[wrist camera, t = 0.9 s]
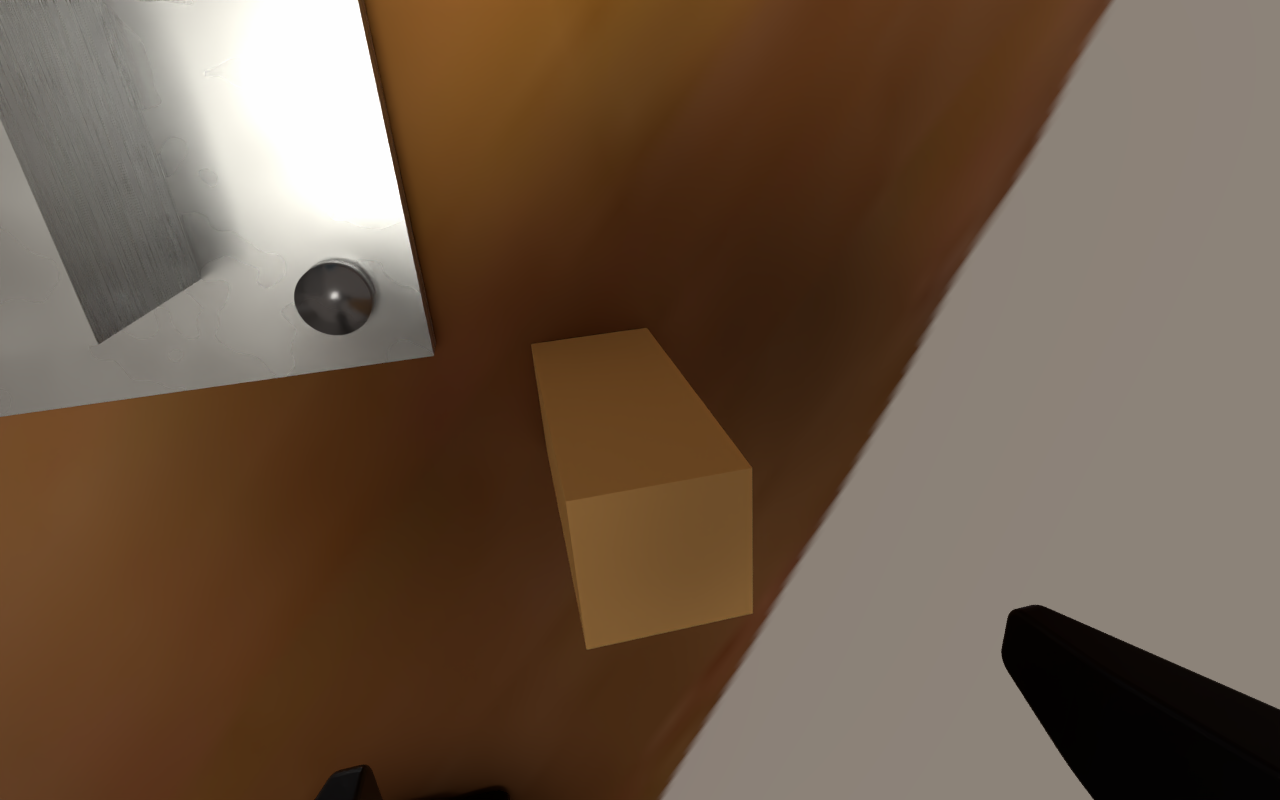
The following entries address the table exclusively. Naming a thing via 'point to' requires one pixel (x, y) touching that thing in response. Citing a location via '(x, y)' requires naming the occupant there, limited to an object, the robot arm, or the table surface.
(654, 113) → the table surface
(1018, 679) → the robot arm
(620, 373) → the wedge pin
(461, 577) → the table surface
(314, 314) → the bracket collar
